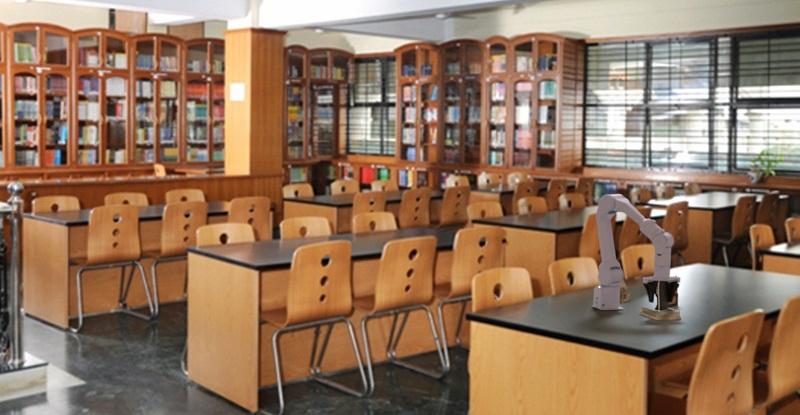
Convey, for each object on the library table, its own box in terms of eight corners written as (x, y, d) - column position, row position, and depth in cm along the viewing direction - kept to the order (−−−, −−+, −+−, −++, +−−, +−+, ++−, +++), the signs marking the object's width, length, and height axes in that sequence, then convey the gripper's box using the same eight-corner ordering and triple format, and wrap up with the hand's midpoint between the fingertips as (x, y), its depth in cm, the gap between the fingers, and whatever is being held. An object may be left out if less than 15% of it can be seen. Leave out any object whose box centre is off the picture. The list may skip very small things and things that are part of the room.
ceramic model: (617, 304, 365) (618, 279, 364) (593, 300, 372) (594, 275, 372) (635, 300, 375) (636, 276, 374) (611, 296, 383) (612, 272, 382)
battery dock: (656, 320, 333) (656, 311, 333) (639, 313, 344) (639, 305, 344) (680, 319, 335) (681, 311, 335) (663, 313, 347) (663, 305, 347)
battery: (660, 306, 344) (659, 276, 343) (669, 307, 341) (669, 277, 340) (651, 310, 339) (650, 280, 337) (661, 311, 336) (660, 281, 335)
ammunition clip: (664, 308, 357) (666, 278, 356) (660, 308, 358) (661, 277, 357) (677, 305, 364) (679, 275, 363) (673, 304, 366) (675, 275, 365)
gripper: (650, 267, 333) (648, 304, 334) (685, 266, 337) (683, 303, 338) (640, 264, 339) (638, 301, 340) (675, 264, 343) (673, 300, 344)
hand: (660, 302), depth 339 cm, fingers closed on battery, 7 cm apart
